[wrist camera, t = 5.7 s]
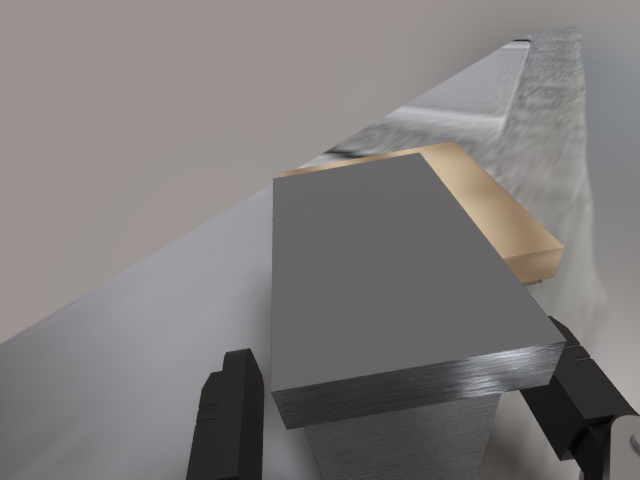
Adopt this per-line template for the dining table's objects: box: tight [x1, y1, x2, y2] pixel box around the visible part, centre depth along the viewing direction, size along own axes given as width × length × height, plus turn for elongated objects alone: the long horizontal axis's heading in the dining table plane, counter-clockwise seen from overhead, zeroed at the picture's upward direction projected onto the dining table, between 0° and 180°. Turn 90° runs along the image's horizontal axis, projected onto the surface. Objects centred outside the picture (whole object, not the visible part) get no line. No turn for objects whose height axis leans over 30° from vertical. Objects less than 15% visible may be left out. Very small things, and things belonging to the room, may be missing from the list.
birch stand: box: [283, 141, 564, 285], centre depth 27 cm, size 15×15×3 cm
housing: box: [271, 152, 567, 480], centre depth 12 cm, size 4×7×12 cm, turn 5°
